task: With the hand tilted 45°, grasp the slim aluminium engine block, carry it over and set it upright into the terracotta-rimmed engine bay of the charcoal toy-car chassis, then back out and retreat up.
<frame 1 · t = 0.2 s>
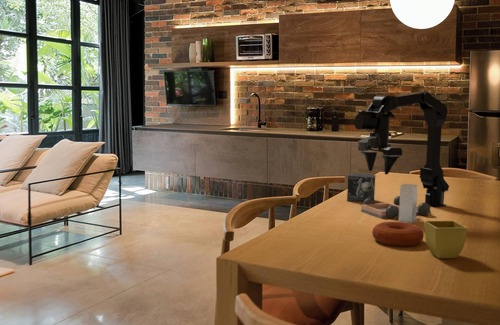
hand: (378, 172, 210), 14 cm above the table, tool pointing down, fingers open, 9 cm apart
chassis: (395, 212, 209), on the table
flower pot: (443, 257, 155), on the table
engine block: (407, 221, 196), on the table
box: (360, 201, 231), on the table
donut: (397, 242, 170), on the table
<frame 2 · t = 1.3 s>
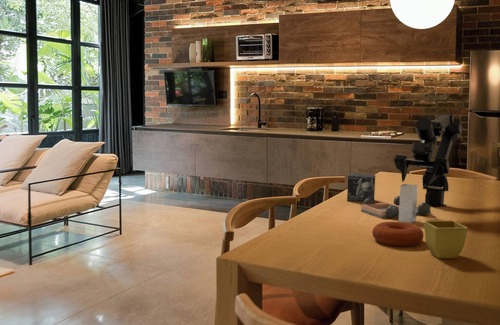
hand: (415, 182, 201), 12 cm above the table, tool tilted 45°, fingers open, 9 cm apart
nothing on the table moved.
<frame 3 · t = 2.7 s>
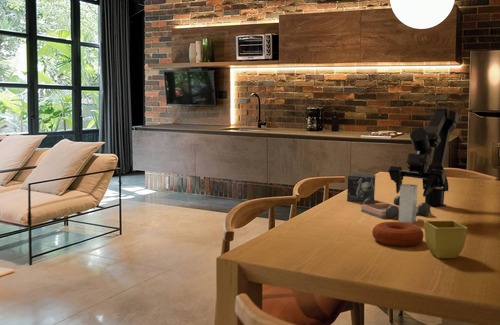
hand: (410, 194, 196), 9 cm above the table, tool tilted 45°, fingers open, 9 cm apart
nothing on the table moved.
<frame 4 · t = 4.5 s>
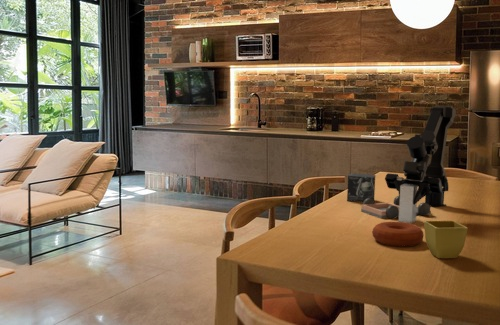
hand: (406, 202, 194), 7 cm above the table, tool tilted 45°, fingers closed on engine block, 4 cm apart
engine block: (407, 221, 196), on the table, touching gripper
everything else where it was.
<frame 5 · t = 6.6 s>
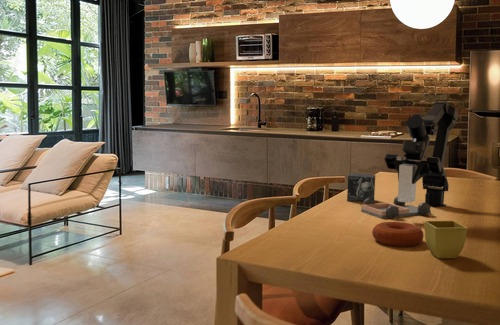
hand: (405, 182, 194), 13 cm above the table, tool tilted 45°, fingers closed on engine block, 4 cm apart
engine block: (406, 200, 196), point 7 cm above the table, touching gripper
everything else where it was.
when the fingers open (9 cm above the table, at t = 9.1 s): engine block drops 1 cm, resting on chassis.
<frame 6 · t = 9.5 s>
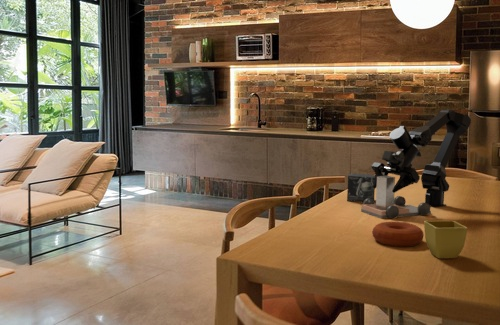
hand: (383, 189, 205), 9 cm above the table, tool tilted 45°, fingers open, 9 cm apart
engine block: (384, 210, 207), point 1 cm above the table, touching chassis
everything else where it was.
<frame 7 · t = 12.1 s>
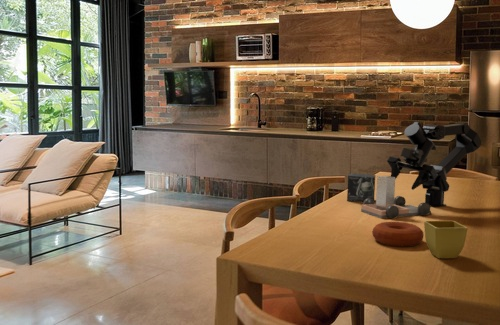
hand: (401, 185, 211), 9 cm above the table, tool tilted 40°, fingers open, 9 cm apart
nothing on the table moved.
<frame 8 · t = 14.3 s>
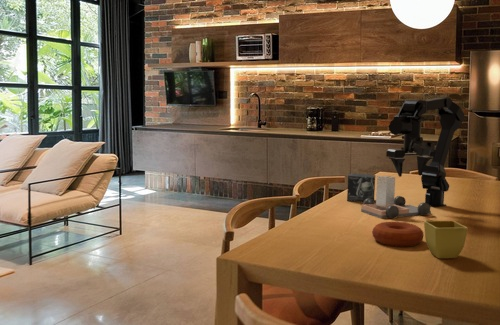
hand: (410, 175, 212), 13 cm above the table, tool pointing down, fingers open, 9 cm apart
nothing on the table moved.
at the end: engine block 0.1 cm from the target spot on the chassis, point 1.0 cm above the chassis's base; engine block tilted 0°; the gripper is holding nothing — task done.
